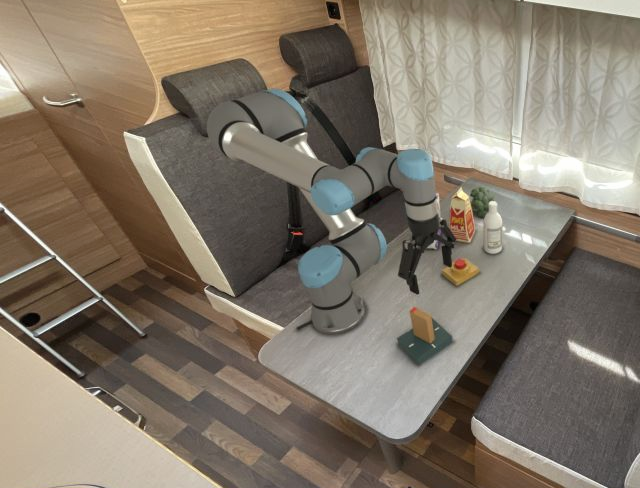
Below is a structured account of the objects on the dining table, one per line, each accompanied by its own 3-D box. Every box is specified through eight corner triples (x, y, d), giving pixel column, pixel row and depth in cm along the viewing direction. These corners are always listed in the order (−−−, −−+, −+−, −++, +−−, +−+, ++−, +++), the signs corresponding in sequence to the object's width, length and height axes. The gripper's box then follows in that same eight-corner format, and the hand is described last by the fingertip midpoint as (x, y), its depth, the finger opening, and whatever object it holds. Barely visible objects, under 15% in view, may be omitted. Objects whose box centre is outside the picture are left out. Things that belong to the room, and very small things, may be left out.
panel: (418, 366, 112) (417, 359, 109) (398, 344, 117) (396, 337, 115) (452, 342, 118) (451, 335, 116) (431, 323, 123) (430, 316, 121)
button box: (456, 286, 136) (456, 277, 133) (442, 274, 140) (441, 265, 138) (479, 273, 141) (478, 264, 139) (464, 262, 146) (464, 253, 143)
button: (459, 270, 137) (459, 266, 135) (452, 265, 138) (452, 261, 137) (467, 266, 139) (467, 262, 137) (461, 261, 140) (460, 257, 139)
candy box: (437, 249, 151) (433, 212, 140) (421, 249, 151) (416, 212, 140) (442, 228, 161) (439, 192, 150) (428, 227, 161) (423, 191, 150)
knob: (434, 339, 115) (431, 314, 108) (430, 343, 114) (426, 319, 107) (418, 330, 117) (414, 306, 110) (414, 334, 116) (409, 310, 109)
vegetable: (467, 196, 176) (497, 186, 170) (473, 224, 175) (503, 215, 169) (452, 191, 165) (484, 180, 159) (458, 221, 164) (490, 212, 158)
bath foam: (505, 249, 152) (507, 204, 139) (491, 256, 148) (491, 210, 135) (494, 240, 156) (494, 195, 143) (480, 247, 152) (479, 202, 139)
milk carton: (469, 242, 154) (467, 197, 141) (446, 239, 156) (442, 194, 142) (475, 229, 161) (474, 185, 148) (453, 226, 162) (450, 181, 149)
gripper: (444, 188, 107) (450, 250, 121) (372, 232, 91) (389, 298, 105) (466, 196, 104) (470, 259, 118) (396, 244, 88) (410, 310, 102)
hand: (431, 278), depth 112 cm, fingers open, 13 cm apart
